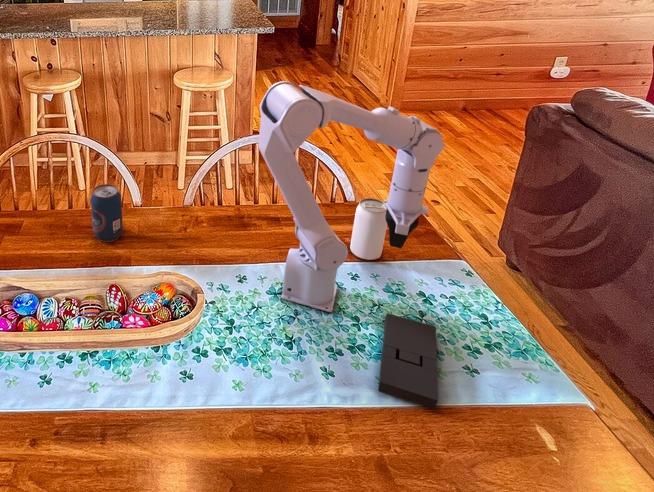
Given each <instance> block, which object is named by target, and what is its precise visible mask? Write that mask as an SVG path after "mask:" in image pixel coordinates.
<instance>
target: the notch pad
mask: <svg viewBox="0 0 654 492" xmlns="http://www.w3.org/2000/svg"><path fill="white" fill-rule="evenodd" d="M382 347H383V349H381V355H380V364H379V366H380V367H379V376H378V377H379V378H378V388H377V391H378V392H381V393H383V394H387V395H390V396H393V397H396V398H399V399H403V400H405V401H408V402H411V403H414V404H417V405H419V406H423V407H426V408H429V409H432V410H436V408H437V404H438V401H439V397H438V394H439V393H438V364H437V363H438V362H437V361H438V360H437V361H436V360H433V359H429V358H426V357H423V358H422V362H421V365H420V366H417V365H414V364H410V363H407V362H404V361H401V360H398V358H397V357H396V349H395V348H392V347H389V346H385V345H383V344H382Z"/></svg>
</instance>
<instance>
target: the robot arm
mask: <svg viewBox="0 0 654 492" xmlns="http://www.w3.org/2000/svg"><path fill="white" fill-rule="evenodd" d="M298 86H299V88H298V87H297V85H295V83H293V82H291V81H285V80H284V81H283V80H282V81H278V82H276V83H274V84H272V85H271V86H270V87H269V88H268V89H267V91H266V92H265V93H264V96H263V98H262V99H261V102H260V103H259V106H258V107H259V113H260V123H259V124H260V125H259V134H258V146H257V147H258V149H259V153H260V154H261V156H262V158H263V160H264V161H265V164H266V166H267V168H268V170H269V172H270V173H271V175H272V177H273V179H274V181H275V183H276V185H277V187H278V190H279V191H280V193H281V196H282V197H283V199H284V201H285V202H286V205H287V207H288V208H289V209H288V210H289V211H290V212H291V214H292V217H293V218H292V220H293V222H294V224H295V226H294V227H295V229H294V234H295V237H296V239H297V240H298V241H299V248H292V247H291V248H289V250H288V253H287V256H286V259H285V260H286V261H285V265H284V274H283V281H282V282H283V283H282V293H281V299H282V300H285V301H289V302H293V303H296V304H298V305H303V306H307V307H309V308H312V309H317V310H321V311H322V312H323V311H324V312H328V313H332V312H333V309H334V304H335V301H336V295H337V291H338V284H336V279H337V274H338V273H337V272H338V269H339V267H341V266H342V265H343V264H344V263H345V262H346V260H347V258H348V256H349V250H348V247H347V245H346V244H345V243H344V241H342V240H341V239H340V238H339V236H338V235H337V234H336V233H335V231H333V229H332V228H331V226H330V224H329V223H328V222H327V220H326V218H325V216H324V214H323V212H322V210H321V207H320V206H319V203H318V202H317V200H316V197H315V195H314V193H313V191H312V189H311V187H310V185H309V182H308V180H307V178H306V176H305V174H304V172H303V169H302V168H301V166H300V164H299V161H298V160H297V158H296V155H295V152H296V151H297V150H298V149H299V148H300V147H301V146H302V145H303V144H304V143H305V142H306V141H307V140H308V138H310V136H312V135H313V133H314V132H315V131H316V130H317V129H318V127H319V128H320V129H324V128H325V127H326V126H327V125H329V124H330V122H331V121H333V122H335V123H340V124H343V125H346V126H350V127H353V128H357V129H360V130H363V133H364V135H365V137H366V138H367V139H368V140H371V141H373V142H377V143H380V144H382V145H386V146H388V147H391V148H394V149H397V152H396V157H395V162H394V167H393V172H392V177H391V183H390V188H389V193H388V198H387V199H386V202H385V203H386V207H387V208H386V216H385V219H386V222H387V228H388V239H389V241H388V242H389V246H390V247H391V248H397V249H402V248H404V245H405V243H406V242H407V239H408V237H409V236H410V234H411V233H412V232H413V231H414V230H415V229H417V228H418V226H419V222H420V220H419V218H420V216H421V215H426V216H427V215H428V214H429V207H428V206H427V205H423V203H424V199H425V194H426V190H427V187H428V186H427V185H428V181H429V177H430V173H431V168H432V167H433V166H434V165H435V161H436V159H437V157H439V155H440V154H441V153H442V151H443V150H444V148H445V145H446V143H444V141H443V135H442V133H441V132H440V130H438V129H437V128H435V127H433V126H431V125H430V124H428V123H426V121H425V122H424V121H423V120H422V119H420V118H419V117H417V116H415V115H409V116H407V115H403V114H402V113H400V110H399V109H397V108H396V107H393V106H388V107H387V108H385V107H376V108H374V109H372V110H371V111H370V110H368V109H366V108H363V107H361V106H358V105H356V104H353V103H351V102H348V101H346V100H344V99H341V98H338V97H336V96H334V95H332V94H330V93H326V92H324V91H321V90H318V89H315V88H312V87H309V86H306V85H301V84H299V85H298Z"/></svg>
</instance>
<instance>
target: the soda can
mask: <svg viewBox="0 0 654 492" xmlns="http://www.w3.org/2000/svg"><path fill="white" fill-rule="evenodd" d="M122 205H123V204H122V194H121V193H120V192H119V188H118V187H117V186H116V185H114V184H109V183H106V184H104V183H103V184H100V185H97V186H95V187H94V188H93V190H92V193H91V195H90V208H91V219H92V220H91V221H92V230H93V235H94V236H95V237H96V238H97V240H98V241H101V242H102V243H103V242H104V243H111V242H114V241H117V240H118V239H120V237H121V235H122V234H123V232H124V221H123V220H124V219H123V206H122Z"/></svg>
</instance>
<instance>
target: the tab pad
mask: <svg viewBox="0 0 654 492" xmlns="http://www.w3.org/2000/svg"><path fill="white" fill-rule="evenodd" d="M383 345H385V346H389V347H392V348H395V349H396V359H397V360H401V361H404V362H407V363H410V364H414V365H417V366H420V367H421V362H422V358H423V357H426V358H429V359H433V360H436V361H438V351H437V350H438V349H437V326H436V325H432V324H429V323H425V322H421V321H417V320H415V319H411V318H406V317H404V316H403V317H402V316H400V315H395V314H392V313H388V312H386V313H385V318H384V327H383V337H382V349H383ZM382 349H381V350H382Z"/></svg>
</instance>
